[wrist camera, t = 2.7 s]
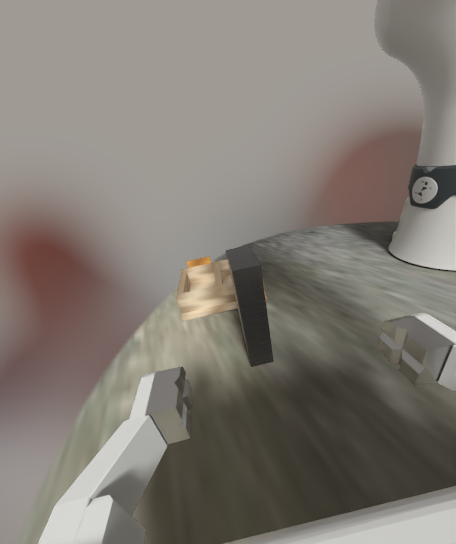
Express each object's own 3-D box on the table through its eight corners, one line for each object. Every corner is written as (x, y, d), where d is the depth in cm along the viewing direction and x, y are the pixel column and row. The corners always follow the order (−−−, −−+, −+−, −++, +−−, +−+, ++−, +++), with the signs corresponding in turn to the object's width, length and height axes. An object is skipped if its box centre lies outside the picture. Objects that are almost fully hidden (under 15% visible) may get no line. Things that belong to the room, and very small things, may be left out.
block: (261, 330, 27) (248, 245, 22) (273, 361, 23) (260, 264, 18) (243, 334, 27) (225, 250, 22) (251, 366, 23) (231, 271, 18)
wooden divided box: (251, 269, 43) (248, 247, 41) (267, 301, 33) (264, 273, 30) (186, 284, 43) (179, 262, 40) (182, 321, 32) (172, 294, 30)
